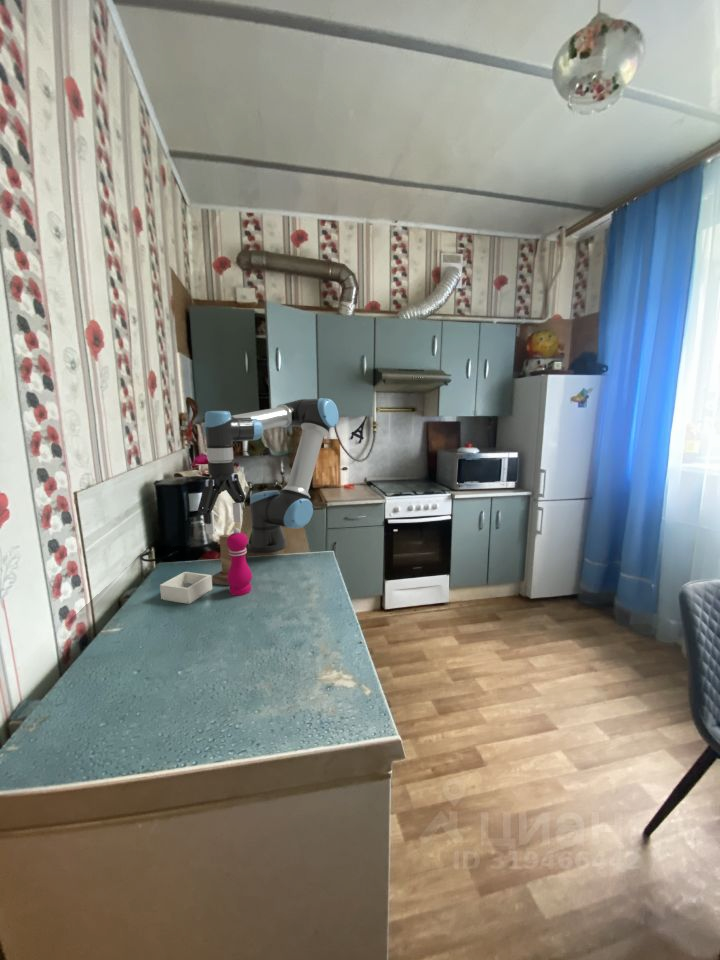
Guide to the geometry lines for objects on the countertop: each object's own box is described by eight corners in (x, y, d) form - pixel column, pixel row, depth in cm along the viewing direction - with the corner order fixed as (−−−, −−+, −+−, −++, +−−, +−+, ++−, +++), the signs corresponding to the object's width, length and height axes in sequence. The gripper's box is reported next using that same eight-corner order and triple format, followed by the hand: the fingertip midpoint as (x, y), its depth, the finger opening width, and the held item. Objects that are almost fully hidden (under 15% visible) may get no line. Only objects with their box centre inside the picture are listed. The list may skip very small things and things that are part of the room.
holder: (227, 574, 126) (226, 567, 126) (244, 576, 124) (244, 569, 124) (213, 583, 120) (212, 575, 119) (231, 585, 118) (231, 578, 117)
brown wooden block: (225, 578, 123) (222, 534, 121) (235, 579, 122) (232, 535, 120) (222, 580, 122) (219, 536, 120) (233, 581, 121) (230, 537, 118)
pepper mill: (256, 586, 117) (252, 524, 114) (247, 597, 110) (243, 532, 107) (234, 585, 118) (230, 524, 115) (223, 596, 111) (219, 531, 108)
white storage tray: (186, 584, 119) (185, 571, 118) (212, 588, 116) (211, 575, 115) (161, 599, 109) (159, 584, 109) (189, 604, 106) (187, 589, 106)
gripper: (234, 457, 129) (238, 517, 132) (180, 465, 105) (186, 538, 108) (253, 457, 126) (256, 518, 130) (202, 466, 103) (208, 540, 106)
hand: (224, 527), depth 119 cm, fingers open, 13 cm apart
